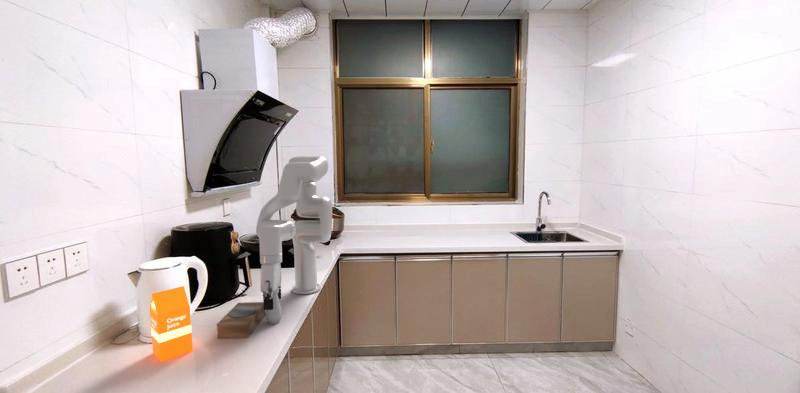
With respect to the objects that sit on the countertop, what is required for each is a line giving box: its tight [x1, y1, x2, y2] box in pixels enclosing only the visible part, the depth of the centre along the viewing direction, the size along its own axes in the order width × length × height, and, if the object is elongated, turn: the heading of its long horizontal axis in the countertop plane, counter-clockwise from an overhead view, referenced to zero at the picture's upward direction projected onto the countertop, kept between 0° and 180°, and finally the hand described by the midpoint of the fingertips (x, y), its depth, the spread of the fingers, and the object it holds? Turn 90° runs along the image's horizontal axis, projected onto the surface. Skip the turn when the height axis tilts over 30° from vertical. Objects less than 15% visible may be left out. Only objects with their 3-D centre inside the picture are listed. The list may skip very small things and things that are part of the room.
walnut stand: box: [216, 301, 266, 340], centre depth 131 cm, size 18×10×6 cm, turn 2°
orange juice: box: [149, 285, 194, 363], centre depth 113 cm, size 8×9×20 cm
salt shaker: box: [264, 288, 283, 325], centre depth 134 cm, size 6×6×13 cm
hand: (272, 304), depth 134 cm, fingers open, 9 cm apart
